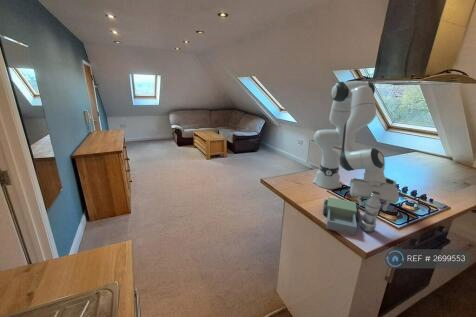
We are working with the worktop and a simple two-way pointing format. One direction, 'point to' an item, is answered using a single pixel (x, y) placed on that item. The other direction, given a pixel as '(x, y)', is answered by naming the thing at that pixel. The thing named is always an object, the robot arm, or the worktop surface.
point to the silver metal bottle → (371, 212)
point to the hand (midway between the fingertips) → (372, 208)
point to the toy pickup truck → (341, 215)
